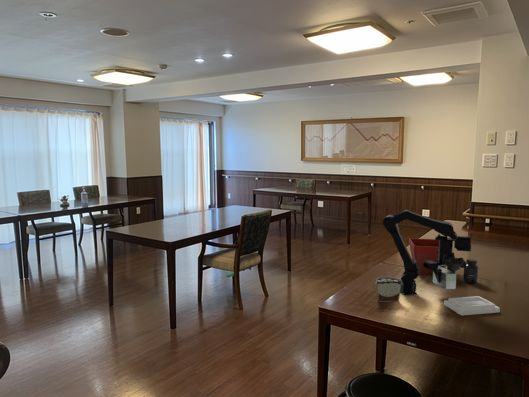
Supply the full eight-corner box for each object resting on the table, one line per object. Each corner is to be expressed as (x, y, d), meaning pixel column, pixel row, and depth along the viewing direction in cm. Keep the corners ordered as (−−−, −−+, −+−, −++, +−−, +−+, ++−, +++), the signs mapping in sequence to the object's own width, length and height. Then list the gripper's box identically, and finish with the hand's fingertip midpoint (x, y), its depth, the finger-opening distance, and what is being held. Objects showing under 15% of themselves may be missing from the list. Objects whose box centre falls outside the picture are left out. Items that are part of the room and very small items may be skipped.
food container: (397, 296, 188) (397, 276, 186) (401, 301, 182) (402, 280, 180) (371, 296, 187) (371, 276, 186) (375, 301, 181) (375, 280, 180)
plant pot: (450, 277, 215) (451, 247, 213) (413, 275, 218) (414, 245, 216) (441, 267, 233) (443, 239, 231) (407, 265, 237) (408, 238, 235)
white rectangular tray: (461, 315, 166) (461, 308, 165) (443, 304, 177) (444, 297, 177) (499, 312, 169) (500, 305, 168) (479, 301, 180) (480, 295, 180)
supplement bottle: (469, 284, 203) (471, 262, 201) (459, 280, 209) (461, 258, 208) (480, 283, 205) (482, 260, 203) (470, 279, 211) (471, 257, 210)
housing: (445, 289, 180) (446, 274, 179) (432, 282, 190) (433, 267, 189) (455, 288, 181) (456, 273, 180) (442, 281, 190) (442, 267, 190)
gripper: (437, 255, 174) (436, 289, 176) (475, 252, 177) (473, 286, 179) (423, 248, 185) (422, 281, 186) (459, 246, 188) (457, 278, 190)
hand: (444, 282), depth 185 cm, fingers closed on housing, 5 cm apart
